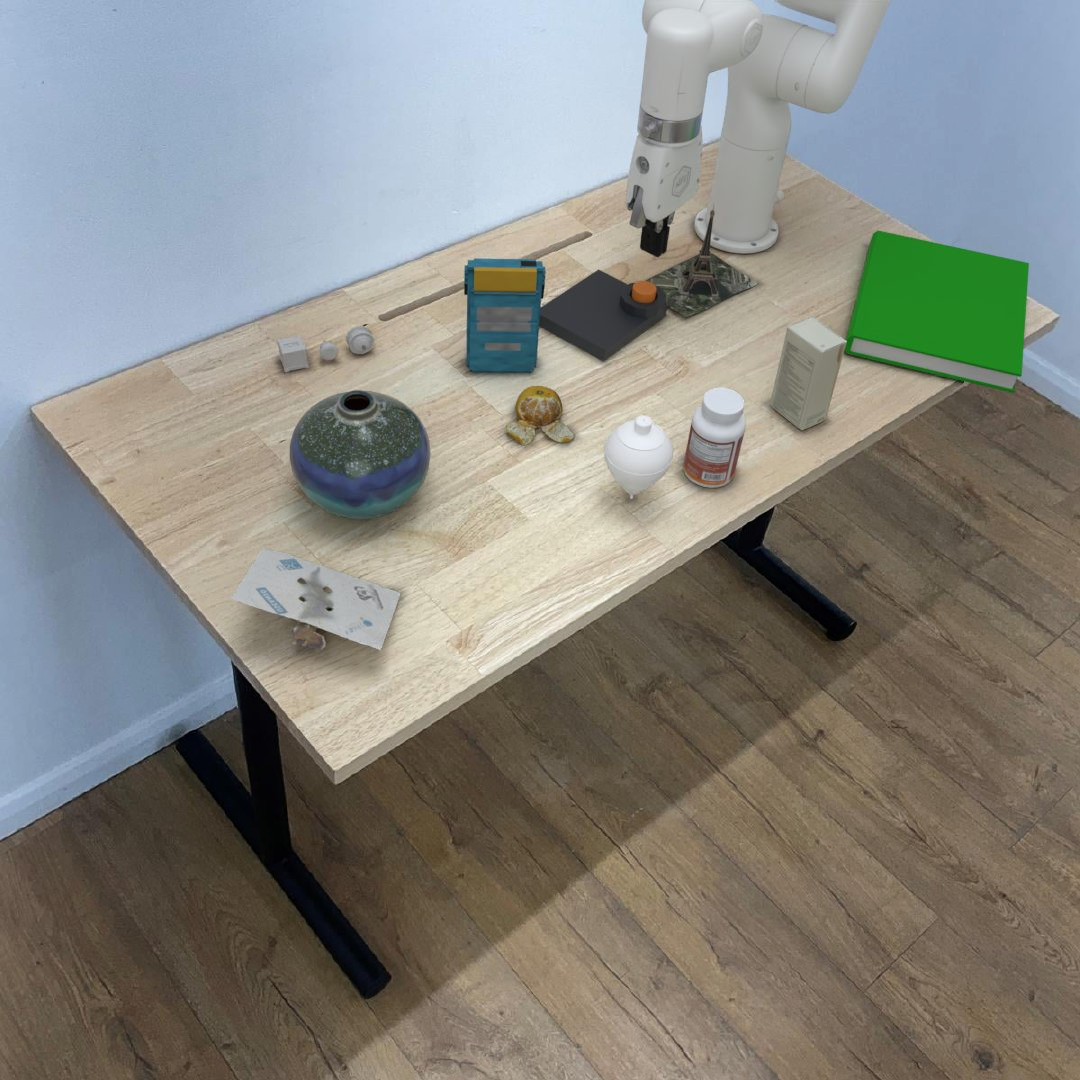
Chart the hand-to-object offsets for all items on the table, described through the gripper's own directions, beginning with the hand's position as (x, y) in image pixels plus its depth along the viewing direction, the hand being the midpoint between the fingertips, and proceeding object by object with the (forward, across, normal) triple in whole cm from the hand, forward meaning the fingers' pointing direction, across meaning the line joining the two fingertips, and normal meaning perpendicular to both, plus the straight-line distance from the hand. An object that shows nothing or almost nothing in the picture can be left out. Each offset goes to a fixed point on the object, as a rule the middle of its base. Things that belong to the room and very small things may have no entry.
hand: (652, 250), depth 153 cm
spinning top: (+9, -31, -21) cm, 38 cm away
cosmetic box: (+10, -4, -26) cm, 29 cm away
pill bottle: (+9, -21, -25) cm, 33 cm away
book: (+11, +28, -30) cm, 43 cm away
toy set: (+7, -38, +22) cm, 44 cm away
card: (+8, -70, -7) cm, 71 cm away
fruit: (+9, -28, -4) cm, 30 cm away
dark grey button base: (+10, -6, +3) cm, 12 cm away
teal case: (+10, -23, +6) cm, 25 cm away
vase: (+8, -51, +2) cm, 52 cm away
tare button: (+7, -1, 0) cm, 7 cm away
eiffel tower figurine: (+11, +10, -2) cm, 15 cm away
